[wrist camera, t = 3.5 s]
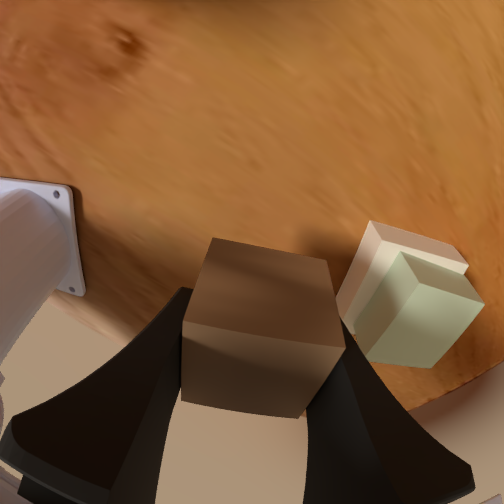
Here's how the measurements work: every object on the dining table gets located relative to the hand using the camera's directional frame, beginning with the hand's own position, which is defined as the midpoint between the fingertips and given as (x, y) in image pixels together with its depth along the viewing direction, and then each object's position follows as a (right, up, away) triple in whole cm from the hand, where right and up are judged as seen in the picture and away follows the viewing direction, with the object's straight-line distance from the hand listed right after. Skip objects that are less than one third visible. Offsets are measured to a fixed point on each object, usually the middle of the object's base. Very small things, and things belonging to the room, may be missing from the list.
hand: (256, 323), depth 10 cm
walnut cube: (0, +1, +1) cm, 2 cm away
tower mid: (+9, 0, +4) cm, 10 cm away
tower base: (+8, +1, +7) cm, 11 cm away
